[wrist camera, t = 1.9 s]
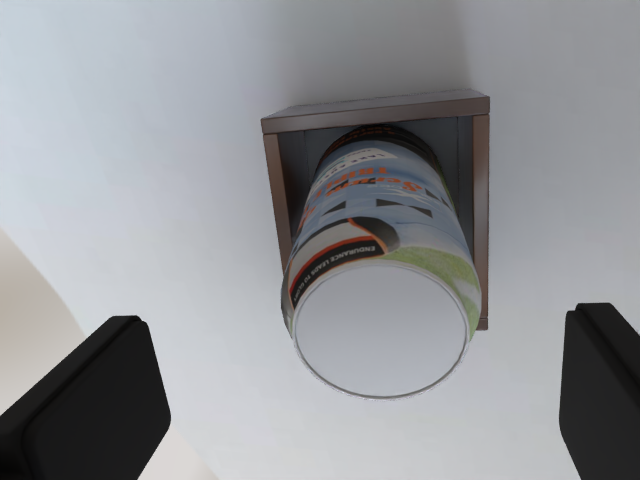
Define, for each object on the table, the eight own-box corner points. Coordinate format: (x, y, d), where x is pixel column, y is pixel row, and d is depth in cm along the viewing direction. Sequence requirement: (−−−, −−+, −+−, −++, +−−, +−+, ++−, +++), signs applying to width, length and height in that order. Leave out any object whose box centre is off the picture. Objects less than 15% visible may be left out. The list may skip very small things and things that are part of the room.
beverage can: (404, 95, 22) (406, 133, 11) (476, 229, 24) (542, 379, 13) (291, 164, 24) (196, 254, 13) (365, 282, 26) (336, 453, 15)
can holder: (288, 106, 23) (260, 118, 18) (471, 88, 22) (490, 95, 17) (311, 285, 26) (291, 333, 22) (472, 279, 25) (488, 330, 20)
